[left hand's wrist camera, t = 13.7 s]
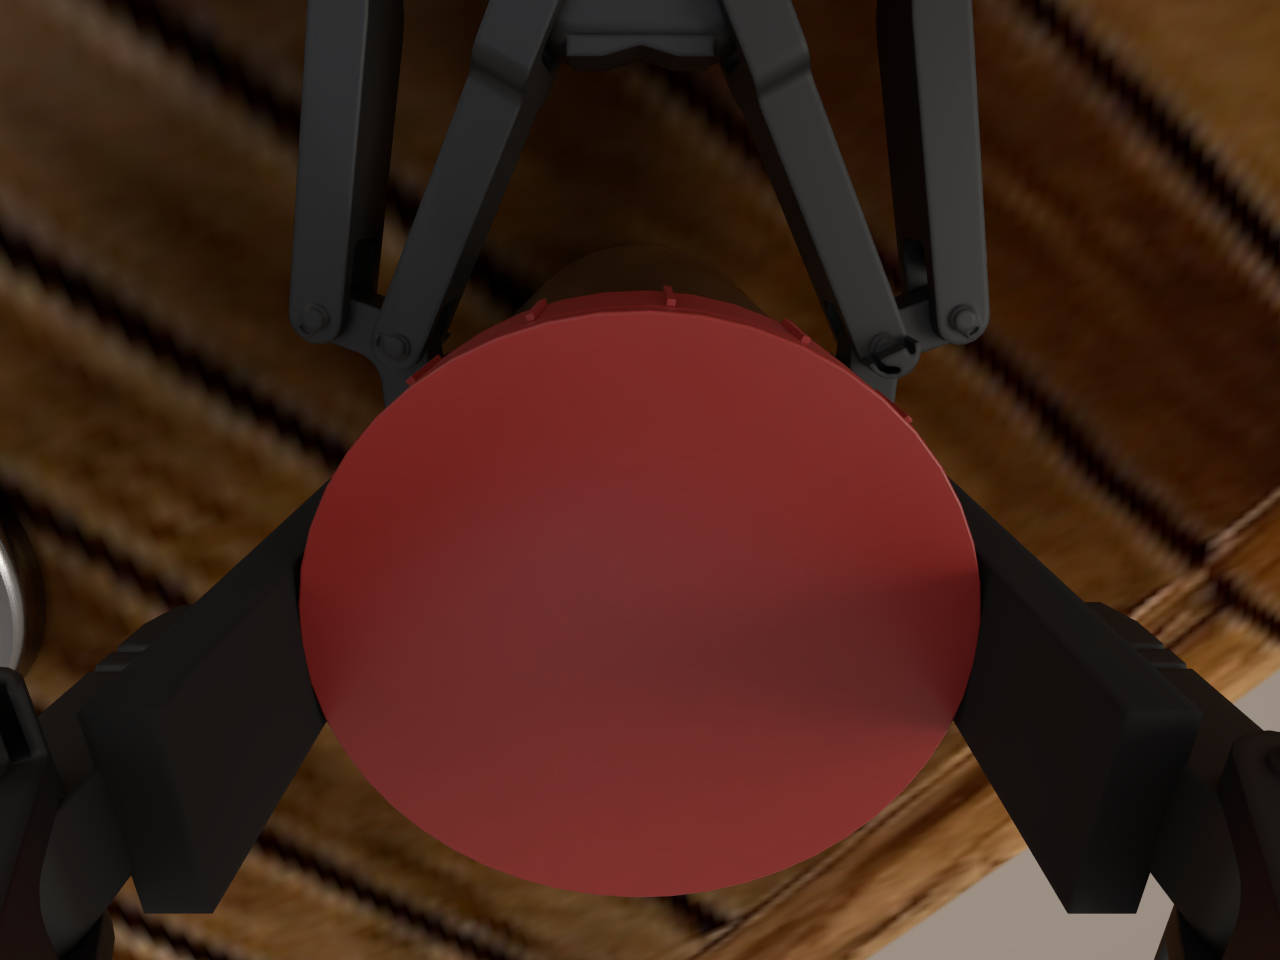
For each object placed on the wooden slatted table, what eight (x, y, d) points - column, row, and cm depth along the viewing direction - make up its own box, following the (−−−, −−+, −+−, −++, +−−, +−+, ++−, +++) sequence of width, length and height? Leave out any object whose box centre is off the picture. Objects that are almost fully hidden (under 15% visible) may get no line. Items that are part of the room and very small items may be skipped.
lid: (923, 786, 14) (966, 878, 12) (416, 828, 14) (383, 922, 12) (947, 253, 10) (1013, 267, 8) (273, 327, 11) (197, 355, 9)
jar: (775, 489, 27) (938, 842, 12) (530, 513, 27) (404, 883, 13) (765, 229, 23) (968, 288, 9) (486, 260, 24) (248, 364, 9)
